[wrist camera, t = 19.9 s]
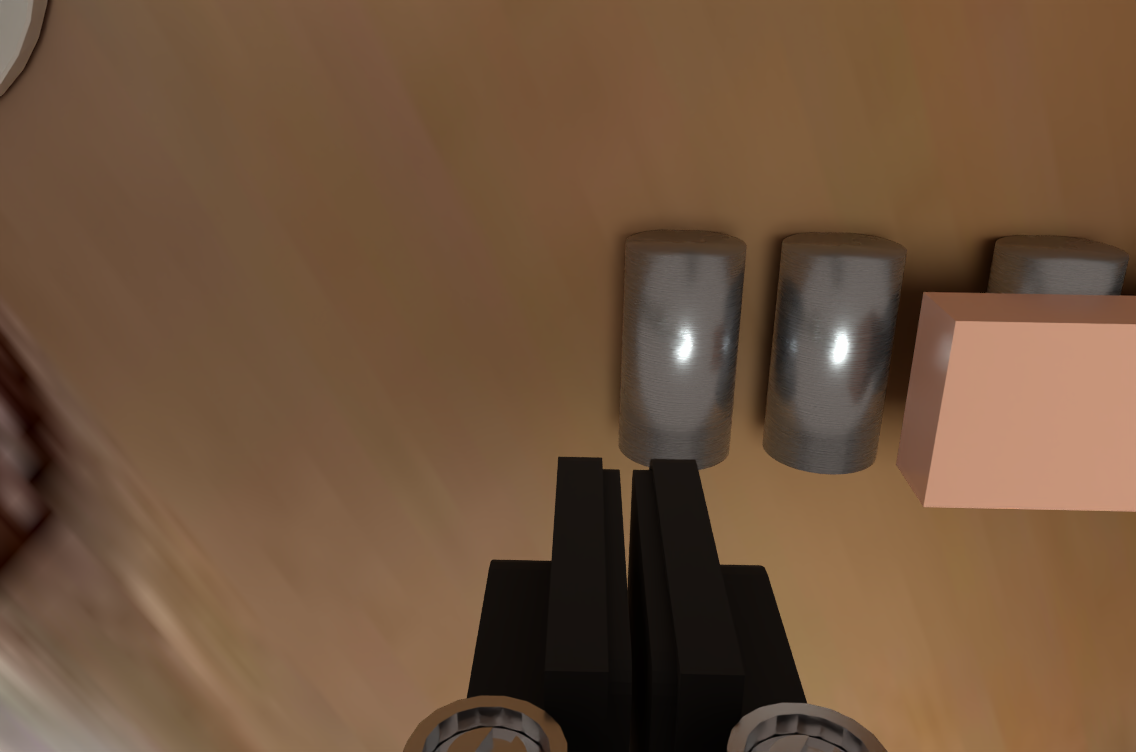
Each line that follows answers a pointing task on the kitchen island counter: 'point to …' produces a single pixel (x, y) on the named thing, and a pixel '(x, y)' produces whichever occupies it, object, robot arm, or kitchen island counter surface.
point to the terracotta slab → (1022, 402)
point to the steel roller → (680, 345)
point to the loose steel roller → (1056, 266)
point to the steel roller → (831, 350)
